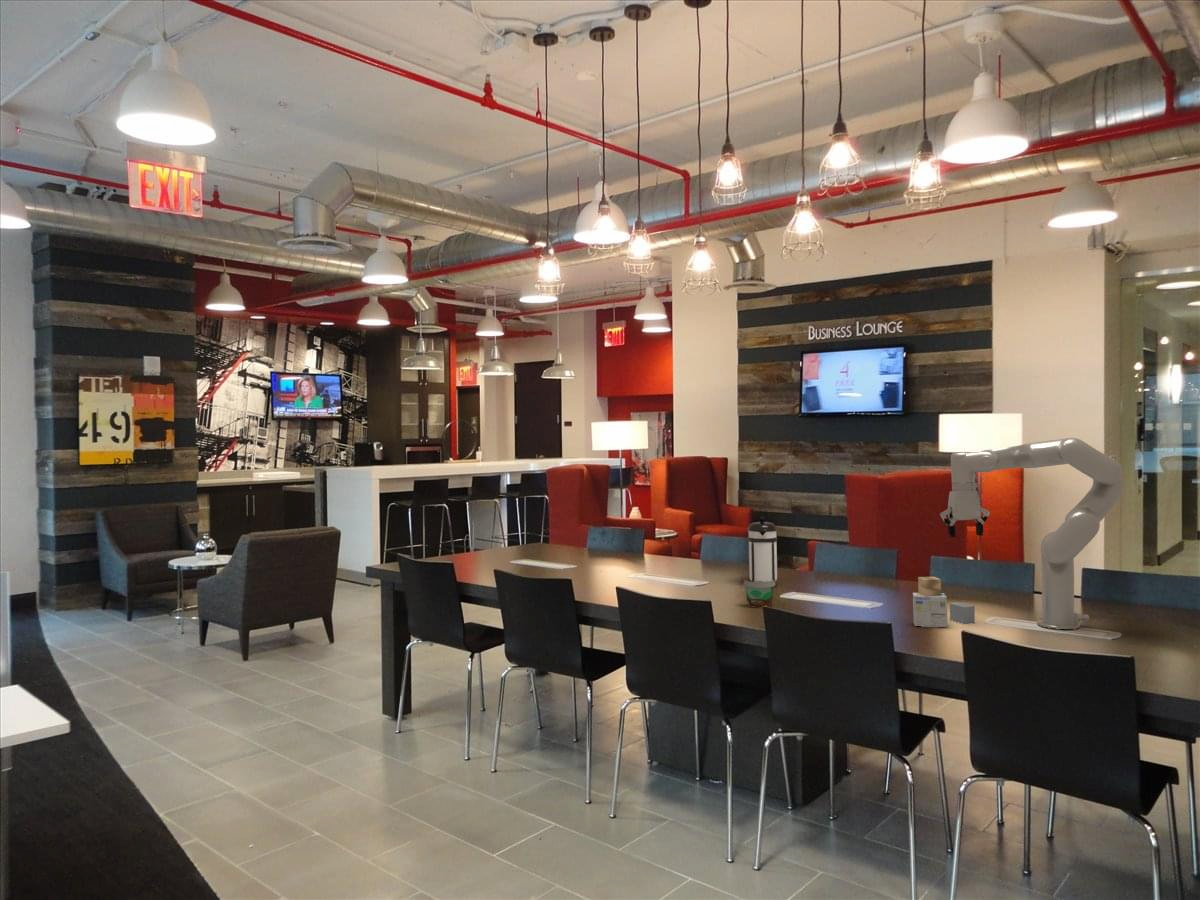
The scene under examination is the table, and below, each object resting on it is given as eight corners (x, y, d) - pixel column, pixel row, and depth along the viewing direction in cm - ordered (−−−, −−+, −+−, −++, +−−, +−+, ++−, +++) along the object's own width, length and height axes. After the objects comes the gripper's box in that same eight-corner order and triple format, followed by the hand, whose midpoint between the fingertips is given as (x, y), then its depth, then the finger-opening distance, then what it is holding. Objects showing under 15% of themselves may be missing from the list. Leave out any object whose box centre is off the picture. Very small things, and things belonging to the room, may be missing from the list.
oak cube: (934, 592, 289) (933, 576, 289) (941, 595, 284) (940, 579, 283) (918, 592, 289) (918, 577, 289) (925, 596, 283) (924, 579, 283)
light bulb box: (945, 623, 288) (945, 592, 288) (948, 628, 282) (947, 596, 282) (912, 622, 291) (912, 591, 291) (914, 627, 285) (913, 595, 284)
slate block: (960, 619, 295) (960, 602, 295) (974, 623, 288) (974, 606, 288) (950, 620, 293) (949, 603, 293) (963, 624, 287) (963, 607, 287)
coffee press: (789, 584, 366) (788, 516, 366) (761, 588, 358) (760, 519, 358) (763, 579, 381) (761, 513, 381) (735, 583, 373) (734, 516, 373)
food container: (742, 607, 321) (742, 582, 321) (743, 604, 327) (743, 579, 327) (775, 608, 318) (774, 582, 318) (776, 605, 324) (775, 579, 324)
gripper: (982, 485, 296) (984, 533, 297) (934, 488, 296) (936, 536, 296) (993, 486, 289) (995, 536, 289) (944, 489, 288) (946, 538, 288)
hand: (965, 536), depth 292 cm, fingers open, 9 cm apart
